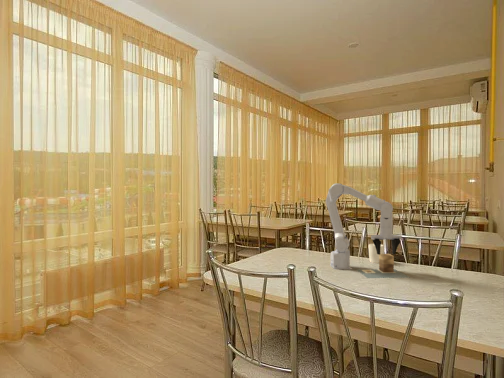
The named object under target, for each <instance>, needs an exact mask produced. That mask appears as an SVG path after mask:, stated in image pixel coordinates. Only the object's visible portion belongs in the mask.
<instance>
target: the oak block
mask: <svg viewBox="0 0 504 378" xmlns="http://www.w3.org/2000/svg"><path fill="white" fill-rule="evenodd" d="M394 259H395V256H394V254H393V255H392V254H390V253H383V254H380V255H379V262H380V263H382V264H395V260H394Z"/></svg>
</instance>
